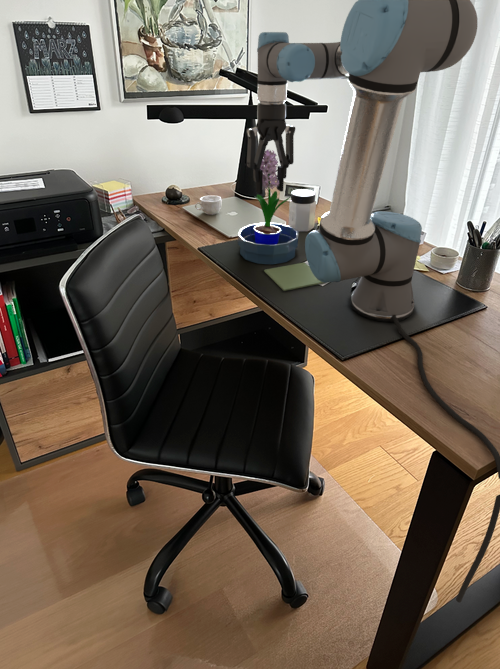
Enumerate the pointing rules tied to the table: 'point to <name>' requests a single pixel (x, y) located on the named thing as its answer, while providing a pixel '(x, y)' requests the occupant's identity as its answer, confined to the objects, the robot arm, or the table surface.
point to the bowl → (268, 252)
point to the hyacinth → (268, 232)
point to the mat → (293, 276)
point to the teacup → (210, 204)
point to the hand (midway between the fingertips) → (269, 191)
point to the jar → (302, 210)
